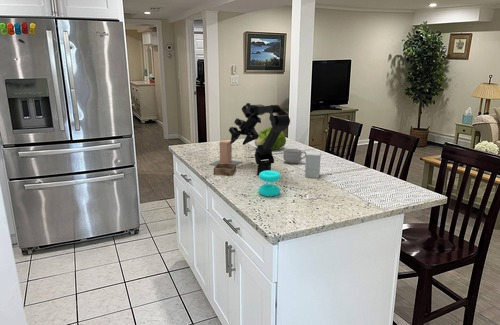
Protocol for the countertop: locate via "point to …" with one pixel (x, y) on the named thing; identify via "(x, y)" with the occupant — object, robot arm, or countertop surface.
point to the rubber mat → (230, 163)
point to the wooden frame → (225, 169)
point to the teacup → (293, 155)
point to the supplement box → (312, 164)
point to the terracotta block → (225, 152)
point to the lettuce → (263, 135)
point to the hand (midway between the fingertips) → (236, 143)
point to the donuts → (269, 188)
